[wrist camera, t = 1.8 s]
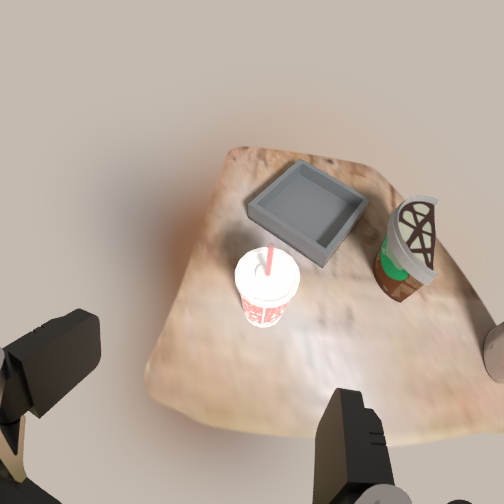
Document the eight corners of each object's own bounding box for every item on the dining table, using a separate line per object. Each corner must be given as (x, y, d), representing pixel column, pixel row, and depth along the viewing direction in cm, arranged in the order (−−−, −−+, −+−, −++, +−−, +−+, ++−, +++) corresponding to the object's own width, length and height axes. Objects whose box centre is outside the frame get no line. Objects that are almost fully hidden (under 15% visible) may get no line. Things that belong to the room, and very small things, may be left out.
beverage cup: (290, 289, 37) (310, 219, 25) (286, 336, 34) (308, 284, 22) (241, 283, 37) (238, 210, 25) (233, 330, 34) (225, 275, 22)
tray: (364, 212, 44) (370, 199, 41) (322, 268, 38) (327, 256, 36) (298, 172, 48) (300, 158, 45) (248, 217, 43) (248, 204, 40)
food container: (372, 226, 42) (396, 179, 34) (408, 240, 41) (437, 197, 33) (356, 297, 36) (387, 257, 28) (398, 312, 35) (437, 277, 27)
